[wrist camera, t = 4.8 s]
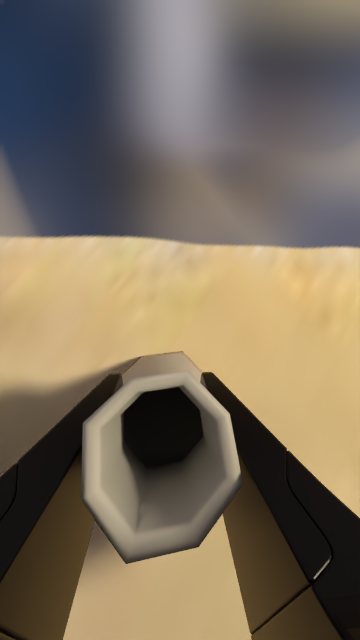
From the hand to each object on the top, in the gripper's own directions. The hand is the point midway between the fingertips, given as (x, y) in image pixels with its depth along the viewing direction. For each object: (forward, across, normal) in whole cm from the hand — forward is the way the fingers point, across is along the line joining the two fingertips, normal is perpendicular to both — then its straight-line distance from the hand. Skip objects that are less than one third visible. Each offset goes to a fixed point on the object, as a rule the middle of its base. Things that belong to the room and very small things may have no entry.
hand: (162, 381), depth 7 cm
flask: (+4, 0, +6) cm, 7 cm away
